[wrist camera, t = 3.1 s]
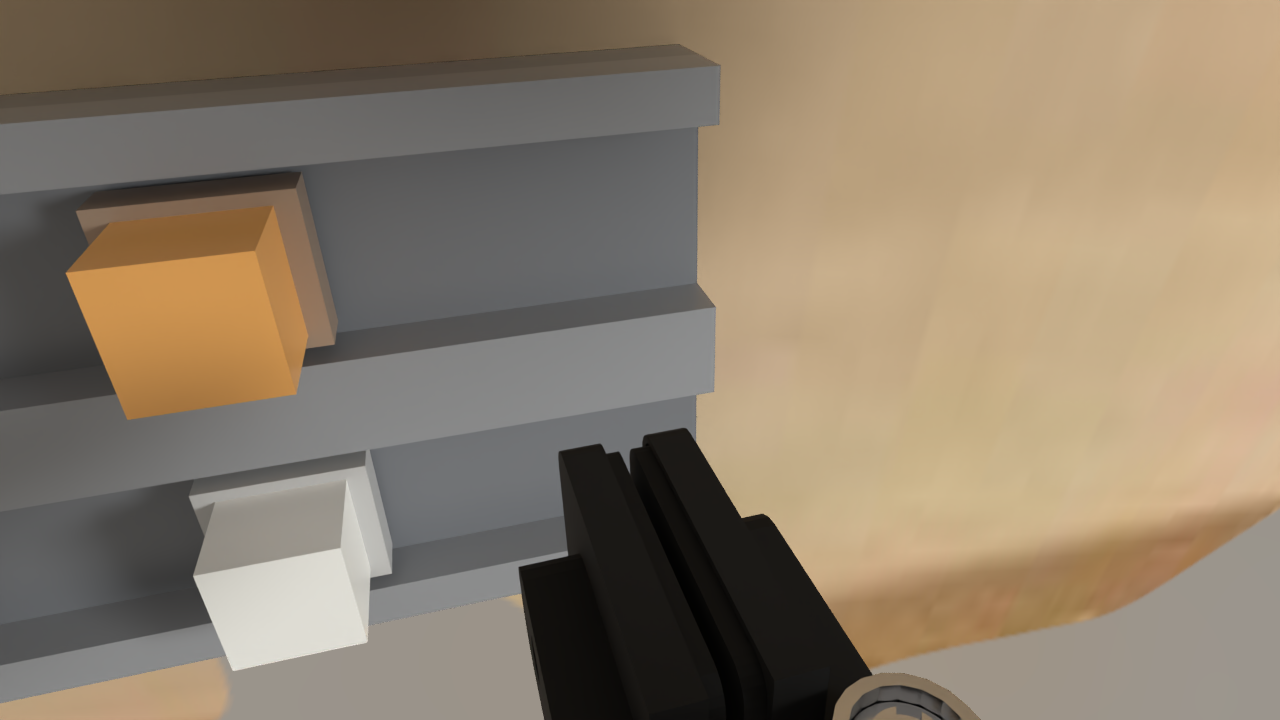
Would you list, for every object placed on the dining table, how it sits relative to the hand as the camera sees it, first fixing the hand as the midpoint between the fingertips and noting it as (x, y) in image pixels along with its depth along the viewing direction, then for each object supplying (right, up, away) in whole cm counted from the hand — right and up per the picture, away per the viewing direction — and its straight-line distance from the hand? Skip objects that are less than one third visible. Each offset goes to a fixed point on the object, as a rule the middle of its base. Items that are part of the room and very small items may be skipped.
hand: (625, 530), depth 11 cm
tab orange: (-9, +4, +7) cm, 12 cm away
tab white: (-9, -2, +11) cm, 14 cm away
